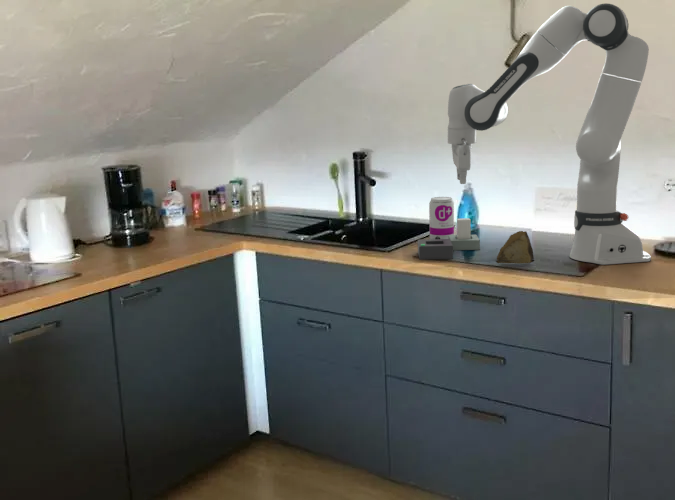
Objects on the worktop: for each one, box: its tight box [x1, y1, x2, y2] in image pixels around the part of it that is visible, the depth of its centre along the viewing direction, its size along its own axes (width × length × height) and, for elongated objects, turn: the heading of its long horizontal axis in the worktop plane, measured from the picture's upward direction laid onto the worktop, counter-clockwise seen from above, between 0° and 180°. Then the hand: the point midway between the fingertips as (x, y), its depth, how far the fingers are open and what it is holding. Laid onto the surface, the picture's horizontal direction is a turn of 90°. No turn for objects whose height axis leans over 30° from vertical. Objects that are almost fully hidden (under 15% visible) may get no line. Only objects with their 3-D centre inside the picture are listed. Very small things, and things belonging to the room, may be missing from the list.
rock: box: [496, 230, 535, 264], centre depth 213 cm, size 11×9×10 cm
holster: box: [448, 234, 481, 251], centre depth 231 cm, size 9×9×4 cm
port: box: [417, 238, 454, 260], centre depth 221 cm, size 10×10×5 cm
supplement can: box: [428, 196, 455, 239], centre depth 243 cm, size 8×8×15 cm
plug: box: [456, 217, 472, 239], centre depth 230 cm, size 4×3×9 cm
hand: (461, 181), depth 227 cm, fingers open, 8 cm apart
